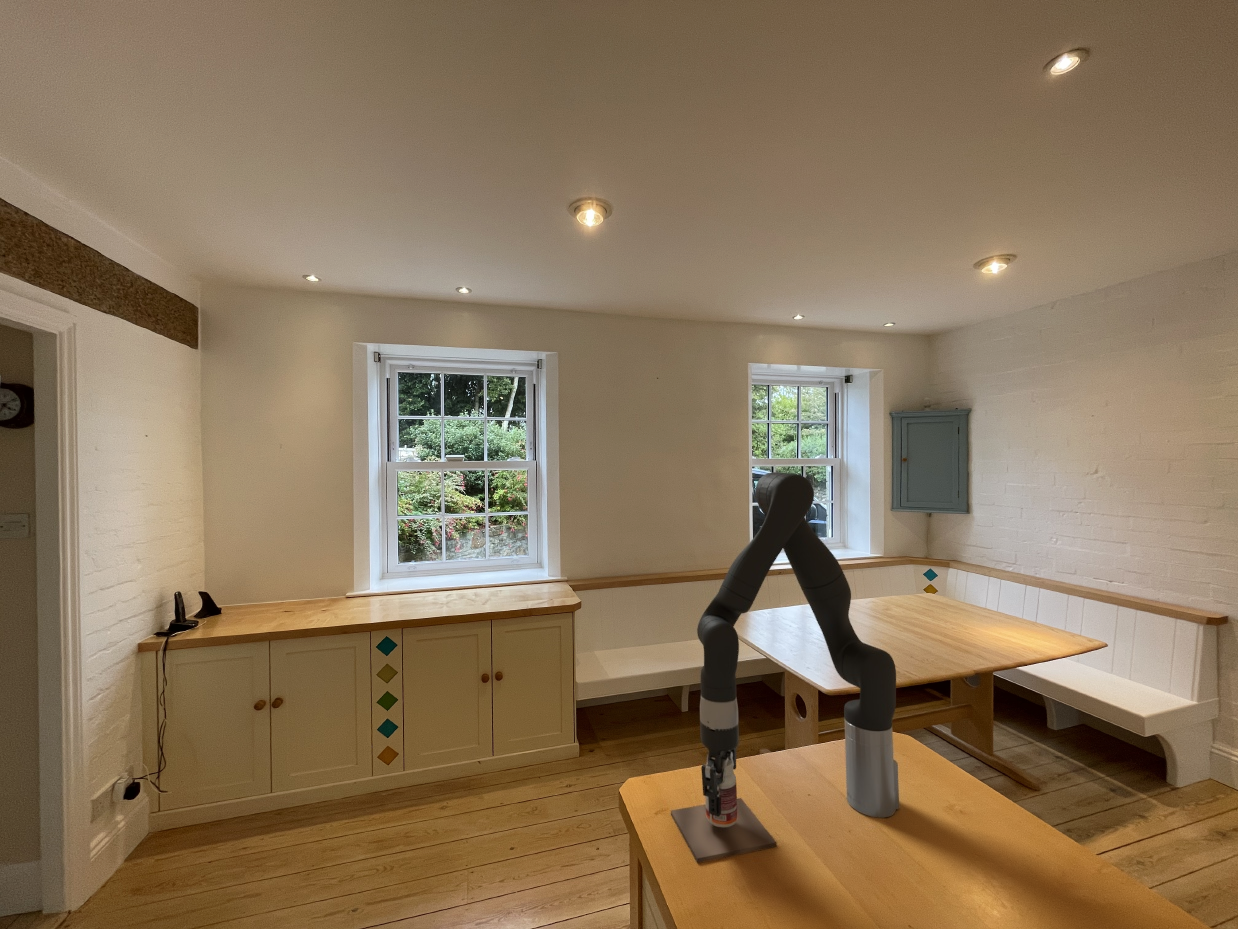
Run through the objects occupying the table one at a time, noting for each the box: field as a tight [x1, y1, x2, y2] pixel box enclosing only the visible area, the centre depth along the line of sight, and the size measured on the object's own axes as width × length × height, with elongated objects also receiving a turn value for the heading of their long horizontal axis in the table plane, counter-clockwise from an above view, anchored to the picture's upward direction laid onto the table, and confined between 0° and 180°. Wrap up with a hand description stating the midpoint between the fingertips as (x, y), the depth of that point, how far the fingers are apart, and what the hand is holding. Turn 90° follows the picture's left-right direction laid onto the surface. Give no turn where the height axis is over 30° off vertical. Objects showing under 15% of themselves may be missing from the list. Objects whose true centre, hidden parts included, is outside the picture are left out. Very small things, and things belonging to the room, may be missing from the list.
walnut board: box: [670, 797, 778, 864], centre depth 100 cm, size 16×14×1 cm
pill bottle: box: [704, 759, 738, 827], centre depth 100 cm, size 6×6×11 cm
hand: (721, 804), depth 100 cm, fingers open, 6 cm apart
